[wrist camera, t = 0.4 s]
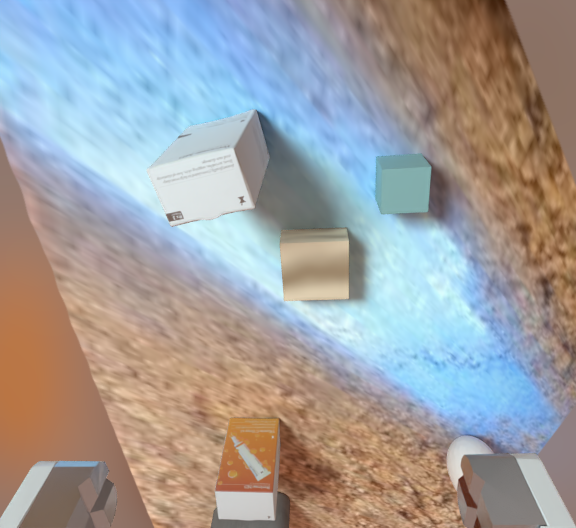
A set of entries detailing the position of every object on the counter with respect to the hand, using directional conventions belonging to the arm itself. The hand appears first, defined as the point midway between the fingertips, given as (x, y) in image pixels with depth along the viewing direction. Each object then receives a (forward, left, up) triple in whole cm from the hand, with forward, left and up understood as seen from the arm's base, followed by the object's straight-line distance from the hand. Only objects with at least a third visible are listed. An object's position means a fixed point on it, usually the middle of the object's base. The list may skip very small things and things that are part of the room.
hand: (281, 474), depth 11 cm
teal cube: (+8, +11, -45) cm, 47 cm away
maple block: (+18, +1, -45) cm, 48 cm away
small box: (+49, -10, -45) cm, 67 cm away
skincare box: (+3, -8, -45) cm, 46 cm away
